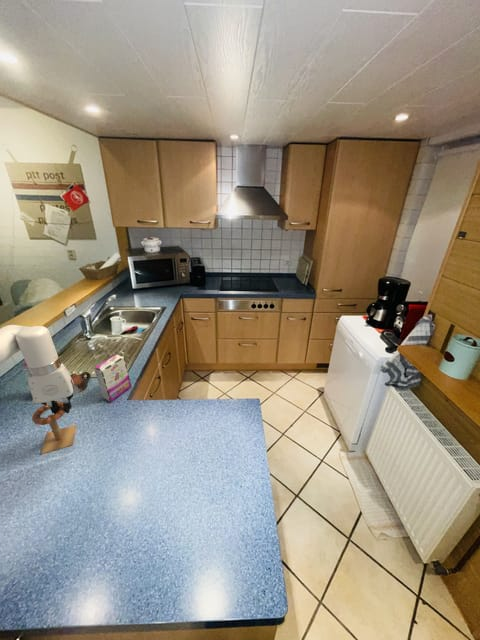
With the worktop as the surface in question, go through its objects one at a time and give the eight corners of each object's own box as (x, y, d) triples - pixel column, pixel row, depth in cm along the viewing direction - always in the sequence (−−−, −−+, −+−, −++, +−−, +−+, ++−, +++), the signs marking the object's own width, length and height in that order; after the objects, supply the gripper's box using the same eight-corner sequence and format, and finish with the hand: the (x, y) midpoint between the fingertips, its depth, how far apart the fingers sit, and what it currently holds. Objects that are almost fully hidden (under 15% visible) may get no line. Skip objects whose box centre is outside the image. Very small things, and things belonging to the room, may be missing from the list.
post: (41, 456, 81) (29, 431, 77) (48, 435, 89) (37, 411, 84) (73, 447, 85) (64, 422, 80) (77, 427, 92) (68, 403, 87)
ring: (29, 430, 76) (27, 425, 75) (37, 409, 84) (35, 404, 83) (65, 420, 80) (63, 415, 79) (69, 401, 87) (68, 397, 86)
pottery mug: (74, 400, 105) (59, 386, 102) (68, 399, 112) (54, 386, 109) (98, 379, 113) (85, 366, 110) (92, 379, 119) (79, 366, 117)
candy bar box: (123, 383, 115) (116, 353, 108) (131, 387, 113) (125, 356, 106) (102, 399, 105) (93, 367, 98) (110, 403, 103) (101, 370, 97)
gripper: (6, 380, 69) (30, 428, 77) (74, 366, 75) (89, 412, 83) (16, 365, 75) (36, 411, 83) (77, 354, 81) (91, 397, 89)
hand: (63, 411), depth 83 cm, fingers closed on ring, 2 cm apart
